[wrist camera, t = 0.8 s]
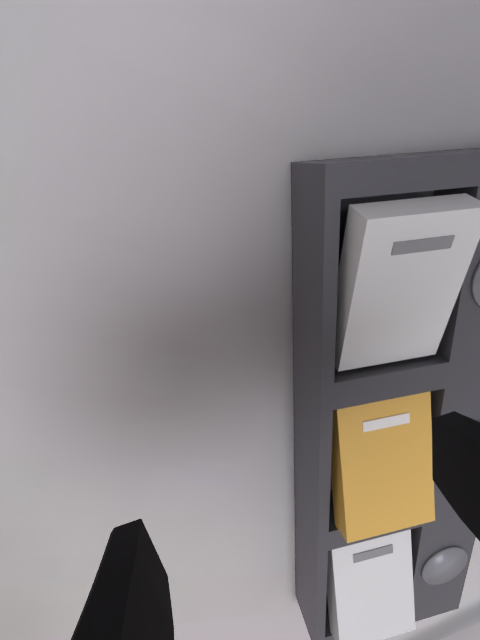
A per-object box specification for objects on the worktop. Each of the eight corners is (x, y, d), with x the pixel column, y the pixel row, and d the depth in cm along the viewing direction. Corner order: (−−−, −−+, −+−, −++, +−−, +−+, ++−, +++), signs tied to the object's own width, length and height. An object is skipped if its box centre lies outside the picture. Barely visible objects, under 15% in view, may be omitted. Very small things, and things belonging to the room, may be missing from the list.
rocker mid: (412, 380, 20) (431, 389, 19) (417, 504, 22) (436, 521, 20) (324, 397, 20) (337, 407, 18) (335, 525, 21) (347, 544, 19)
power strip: (497, 146, 18) (575, 145, 15) (418, 594, 31) (451, 647, 28) (291, 162, 17) (328, 164, 13) (296, 630, 29) (315, 691, 26)
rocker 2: (396, 509, 24) (411, 524, 23) (401, 609, 25) (416, 630, 24) (321, 527, 23) (331, 545, 22) (330, 630, 24) (341, 653, 23)
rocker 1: (465, 193, 15) (493, 207, 14) (417, 335, 19) (436, 355, 18) (349, 204, 14) (368, 220, 13) (325, 350, 19) (338, 372, 17)
